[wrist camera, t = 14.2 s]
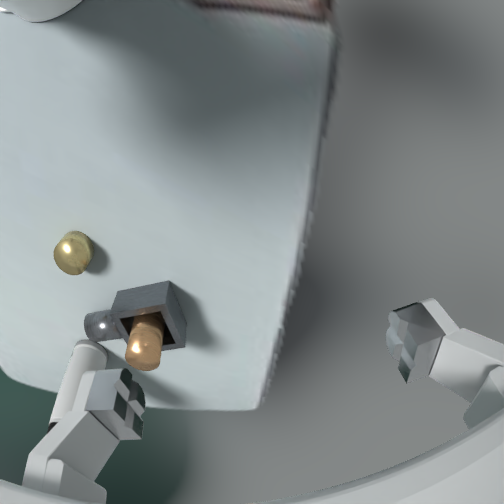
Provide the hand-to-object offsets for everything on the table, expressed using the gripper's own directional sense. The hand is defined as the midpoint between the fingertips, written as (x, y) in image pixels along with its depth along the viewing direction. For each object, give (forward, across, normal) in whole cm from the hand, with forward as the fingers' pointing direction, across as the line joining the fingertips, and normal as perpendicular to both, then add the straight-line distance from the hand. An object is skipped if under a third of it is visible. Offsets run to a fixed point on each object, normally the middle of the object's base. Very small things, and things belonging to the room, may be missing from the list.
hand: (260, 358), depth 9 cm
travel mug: (+29, +30, +26) cm, 49 cm away
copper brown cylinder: (+29, +15, +19) cm, 38 cm away
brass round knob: (+29, +22, +7) cm, 37 cm away
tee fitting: (+29, +18, +19) cm, 39 cm away
